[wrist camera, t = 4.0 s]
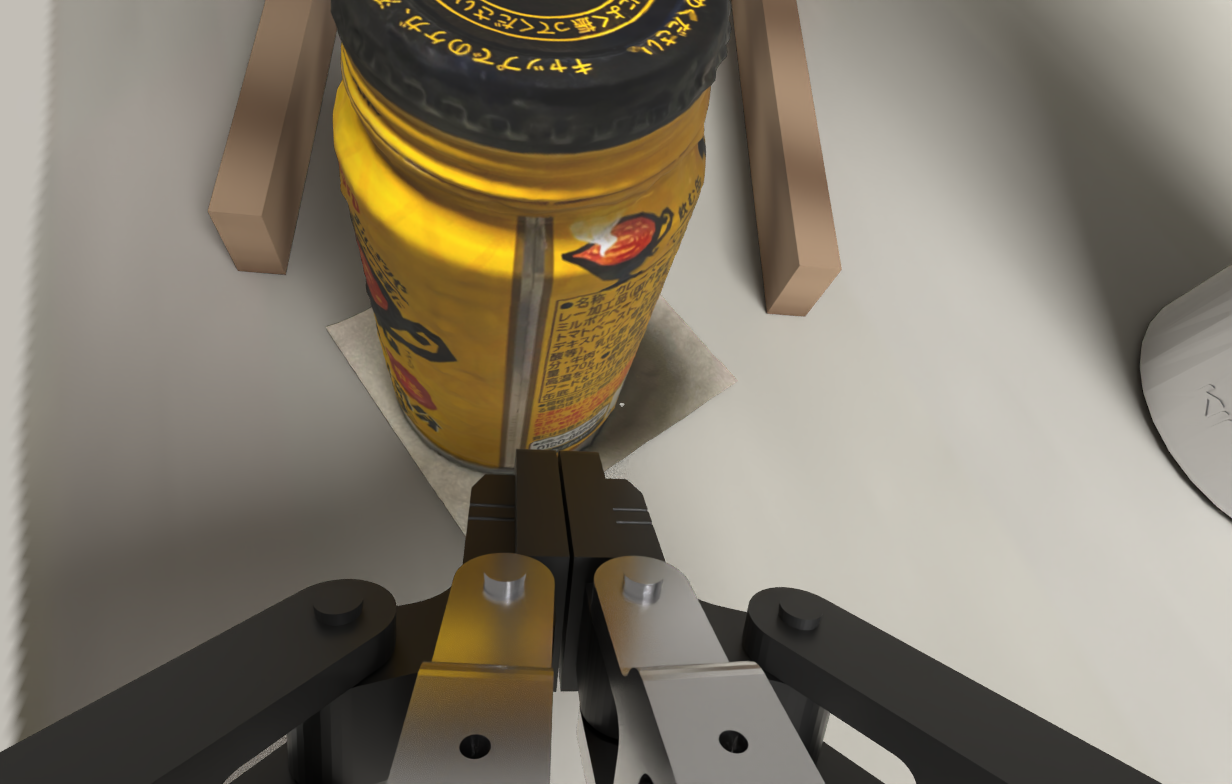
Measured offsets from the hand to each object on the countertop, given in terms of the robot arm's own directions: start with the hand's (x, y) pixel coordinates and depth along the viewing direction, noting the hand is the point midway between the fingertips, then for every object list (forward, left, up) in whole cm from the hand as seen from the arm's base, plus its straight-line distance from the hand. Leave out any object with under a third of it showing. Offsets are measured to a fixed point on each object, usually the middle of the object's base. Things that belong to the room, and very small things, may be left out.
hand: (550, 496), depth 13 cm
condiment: (-3, -5, -5) cm, 8 cm away
